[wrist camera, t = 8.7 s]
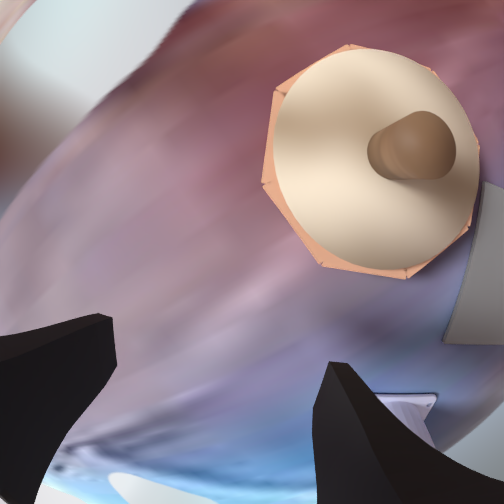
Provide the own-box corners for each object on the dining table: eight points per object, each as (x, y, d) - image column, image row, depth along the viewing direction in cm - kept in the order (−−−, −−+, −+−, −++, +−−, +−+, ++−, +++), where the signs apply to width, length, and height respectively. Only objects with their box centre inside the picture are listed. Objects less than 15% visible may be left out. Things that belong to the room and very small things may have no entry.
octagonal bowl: (431, 273, 17) (456, 290, 13) (254, 244, 18) (246, 258, 14) (454, 100, 14) (481, 88, 10) (280, 55, 15) (278, 29, 11)
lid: (461, 271, 13) (509, 301, 9) (267, 258, 14) (258, 292, 10) (468, 81, 11) (514, 58, 6) (277, 43, 12) (271, -8, 7)
